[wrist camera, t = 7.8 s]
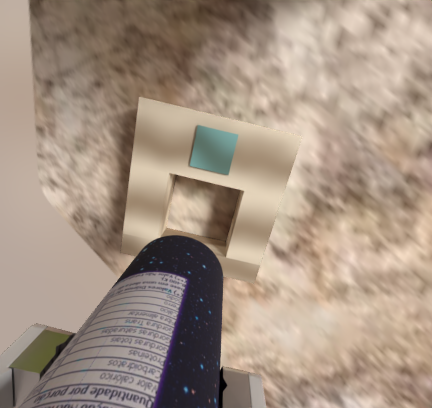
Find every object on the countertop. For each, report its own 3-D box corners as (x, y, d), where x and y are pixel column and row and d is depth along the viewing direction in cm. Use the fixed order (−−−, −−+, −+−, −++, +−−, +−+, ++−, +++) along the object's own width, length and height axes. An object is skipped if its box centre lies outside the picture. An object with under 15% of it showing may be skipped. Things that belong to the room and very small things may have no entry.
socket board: (152, 102, 25) (138, 95, 21) (291, 136, 26) (303, 136, 21) (134, 237, 30) (119, 253, 26) (250, 265, 30) (254, 285, 26)
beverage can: (130, 289, 16) (-129, 688, 4) (151, 217, 14) (-169, 542, 3) (207, 314, 16) (155, 754, 5) (236, 246, 15) (265, 655, 3)
